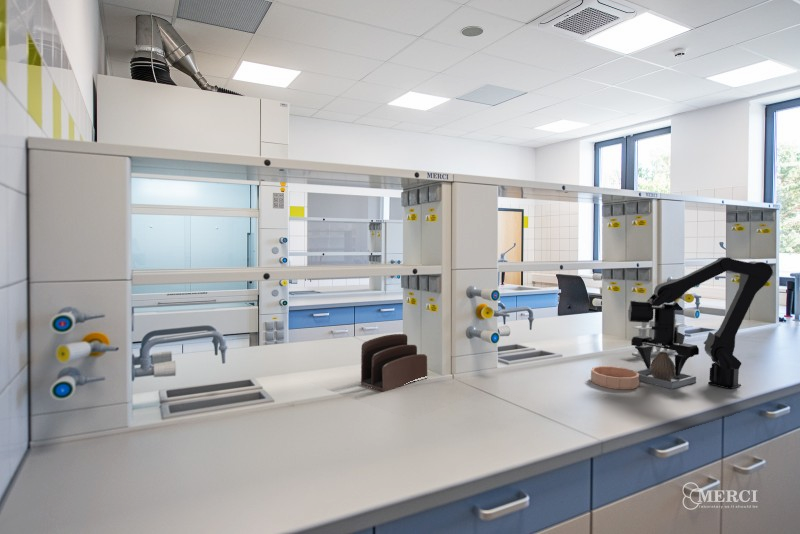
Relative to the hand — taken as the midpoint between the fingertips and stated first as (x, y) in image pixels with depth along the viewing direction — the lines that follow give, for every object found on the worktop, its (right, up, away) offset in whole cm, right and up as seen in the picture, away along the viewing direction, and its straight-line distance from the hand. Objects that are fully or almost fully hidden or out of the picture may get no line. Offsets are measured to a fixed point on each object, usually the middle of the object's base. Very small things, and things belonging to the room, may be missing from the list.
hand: (662, 372), depth 152 cm
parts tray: (0, -3, 0) cm, 2 cm away
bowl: (-17, -3, -3) cm, 17 cm away
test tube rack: (+19, -1, +38) cm, 42 cm away
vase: (0, -3, 0) cm, 3 cm away
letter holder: (-85, -3, -3) cm, 85 cm away
